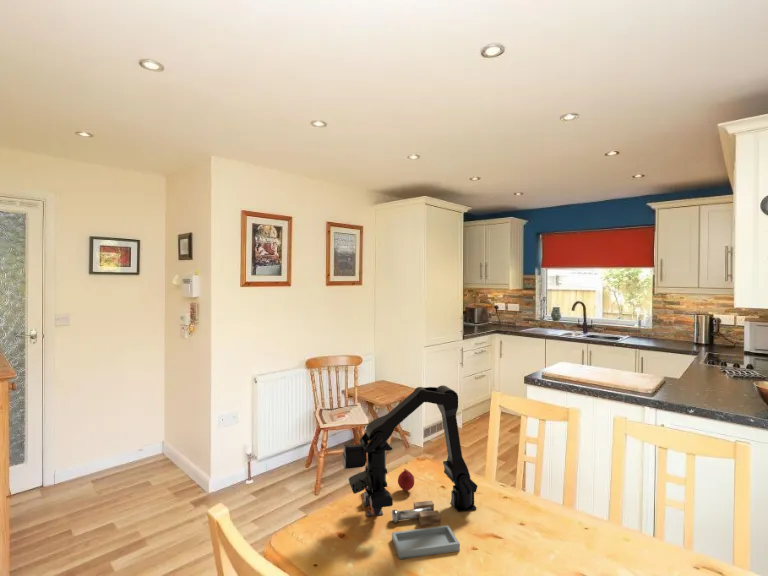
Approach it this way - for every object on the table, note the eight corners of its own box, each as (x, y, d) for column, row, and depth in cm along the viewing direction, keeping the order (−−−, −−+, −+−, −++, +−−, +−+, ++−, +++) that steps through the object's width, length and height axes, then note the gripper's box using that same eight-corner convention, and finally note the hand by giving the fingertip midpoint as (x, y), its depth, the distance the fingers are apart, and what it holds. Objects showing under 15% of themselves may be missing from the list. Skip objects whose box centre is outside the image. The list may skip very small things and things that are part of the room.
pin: (429, 514, 128) (429, 503, 128) (432, 519, 125) (432, 508, 125) (392, 518, 126) (391, 507, 126) (394, 525, 122) (394, 513, 122)
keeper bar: (370, 488, 142) (370, 481, 142) (379, 513, 127) (379, 505, 127) (363, 488, 142) (363, 482, 142) (371, 514, 126) (371, 506, 126)
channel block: (431, 509, 131) (431, 500, 131) (440, 524, 123) (440, 514, 123) (413, 511, 129) (413, 502, 129) (421, 526, 122) (421, 516, 122)
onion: (414, 487, 145) (414, 465, 145) (414, 496, 139) (414, 472, 139) (398, 486, 145) (398, 464, 145) (397, 495, 140) (397, 472, 140)
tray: (448, 531, 119) (448, 525, 119) (459, 550, 110) (459, 543, 110) (392, 539, 115) (392, 532, 115) (399, 559, 107) (399, 552, 107)
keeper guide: (377, 500, 136) (377, 490, 136) (382, 514, 128) (382, 503, 128) (363, 502, 135) (363, 491, 135) (367, 516, 127) (367, 505, 127)
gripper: (346, 454, 133) (347, 501, 133) (354, 481, 114) (355, 536, 114) (380, 451, 135) (380, 498, 135) (393, 477, 117) (393, 531, 117)
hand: (376, 514), depth 125 cm, fingers closed
